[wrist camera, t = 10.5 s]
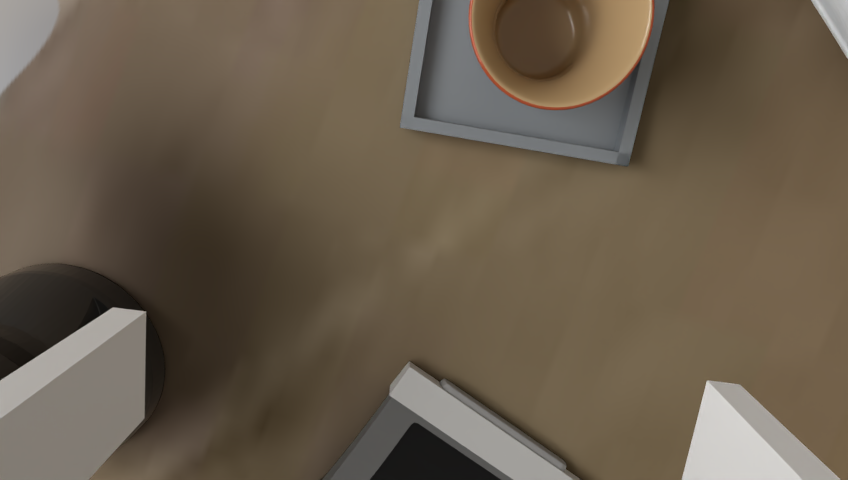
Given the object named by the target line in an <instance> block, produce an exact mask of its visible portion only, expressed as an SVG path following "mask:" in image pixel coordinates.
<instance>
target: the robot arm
mask: <svg viewBox="0 0 848 480" xmlns="http://www.w3.org/2000/svg"><path fill="white" fill-rule="evenodd" d="M164 376H165V366H164V356H163V351H162V347H161V344H160V341H159V338H158V335H157V333H156V331H155V329H154V327H153V325H152V323H151V321H150V320H149V318H148V317H147V315H146V311H143V310H142V308H141V307H140V306H139V305H138V304H137V302H136V301H135V300H134V299H133V298H132V297H131V296H130V295H128V294H127V293H126V292H125V291H124V290H123V289H121V288H120V287H119V286H117V285H116V284H114V283H113V282H111V281H110V280H108V279H106V278H104V277H102V276H101V275H98V274H96V273H94V272H91V271H89V270H86V269H83V268H79V267H75V266H70V265H63V264H40V265H34V266H29V267H25V268H22V269H19V270H17V271H14V272H12V273H9V274H7V275H4V276H2V277H0V480H89V479H90V478H91V477H92V475H93V474H94V473H95V472H96V471H97V470H98V469H99V468H100V467H101V466H102V464H103V463H104V462H105V461H106V460H107V459H108V458H109V457H110V456H111V455H112V453H113V452H114V451H115V450H116V449H117V448H118V447H120V446H121V445H122V444H124V443H125V442H126V441H127V440H128V439H129V438H130V437H131V436H132V435H133V434H134V433H135V432H136V431H137V430H138V429H139V428H140V427H141V426H142V425H143V424H144V423H145V422H146V421H147V419H148V418H149V417H150V416H151V414H152V413H153V411H154V409H155V408H156V406H157V404H158V402H159V399H160V396H161V393H162V390H163V384H164ZM682 480H841V479H839V478H838V477H837V476H836V475H835V474H834V473H833V472H832V471H831V470H830V469H829V468H828V467H827V466H826V465H825V464H824V463H822V462H821V461H820V460H819V459H818V458H817V457H816V456H815V455H814V454H813V453H812V452H811V451H810V450H809V449H808V448H807V447H806V446H804V445H803V444H802V443H801V442H800V441H799V440H798V439H797V438H796V437H795V436H794V435H793V434H792V433H791V432H790V431H789V430H787V429H786V428H785V427H784V426H783V425H782V424H781V423H780V422H779V421H778V420H777V419H776V418H775V417H774V416H773V415H772V414H770V413H769V412H768V411H767V410H766V409H765V408H764V407H763V406H762V405H761V404H760V403H759V402H758V401H757V400H756V399H755V398H754V397H752V396H751V395H750V394H749V393H748V392H747V391H746V390H745V389H744V388H743V387H742V386H741V385H740V384H733V383H725V382H716V381H708V380H707V383H706V387H705V391H704V395H703V399H702V402H701V406H700V410H699V414H698V418H697V422H696V426H695V430H694V434H693V438H692V442H691V446H690V450H689V454H688V457H687V461H686V465H685V469H684V473H683V477H682Z"/></svg>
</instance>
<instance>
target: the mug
mask: <svg viewBox="0 0 848 480" xmlns="http://www.w3.org/2000/svg"><path fill="white" fill-rule="evenodd" d="M654 10H655V4H654V0H470V4H469V16H468V17H469V33H470V38H471V43H472V46H473V50H474V53H475V55H476V57H477V60H478V62H479V64H480V66H481V67H482V69H483V71H484V72H485V74H486V75H487V76H488V78H489V79H490V80H491V81H492V82H493V83H494V84H495V85H496V86H497V87H498V88H499V89H500V90H501V91H502V92H504V93H505V94H506V95H508V96H509V97H511V98H512V99H514V100H516V101H518V102H520V103H522V104H525V105H528V106H530V107H534V108H538V109H544V110H568V109H574V108H578V107H582V106H585V105H588V104H591V103H593V102H595V101H597V100H599V99H601V98H603V97H604V96H606V95H608V94H609V93H610V92H612V91H613V90H615V89H616V88H617V87H618V86H619V85H620V84H622V82H623V81H624V80H625V79H626V78H627V77H628V76H629V75H630V74H631V72H632V71H633V70H634V69H635V67H636V66H637V64H638V63H639V61H640V59H641V57H642V56H643V54H644V52H645V49H646V47H647V45H648V42H649V39H650V36H651V32H652V28H653V22H654Z"/></svg>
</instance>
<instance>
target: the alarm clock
mask: <svg viewBox="0 0 848 480" xmlns="http://www.w3.org/2000/svg"><path fill="white" fill-rule="evenodd" d="M322 480H581V479H580V478H578V477H577V476H575V475H574V474H572V473H571V472H569V471H568V470H566V463H565V462H564V460H562V459H561V458H560V457H558V456H557V455H555V454H554V453H552V452H551V451H549V450H548V449H547V448H545V447H544V446H542V445H541V444H539V443H538V442H536V441H535V440H533V439H532V438H531V437H529V436H528V435H526V434H525V433H523V432H522V431H520V430H519V429H518V428H516V427H515V426H513V425H512V424H510V423H509V422H507V421H506V420H505V419H503V418H502V417H500V416H499V415H497V414H496V413H494V412H493V411H492V410H490V409H489V408H487V407H486V406H484V405H483V404H481V403H480V402H479V401H477V400H476V399H474V398H473V397H471V396H470V395H468V394H467V393H465V392H464V391H463V390H461V389H460V388H458V387H457V386H455V385H454V384H452V383H451V382H450V381H448V380H447V379H443V380H441V381H440V382H439V381H437V380H436V379H435V378H433V377H432V376H430V375H429V374H427V373H426V372H424V371H423V370H421V369H420V368H419V367H417V366H416V365H414V364H413V363H411V362H410V361H409V362H408V363H407V364H406V366H405V367H404V368H403V369H402V371H401V372H400V373H399V375H398V376H397V377H396V378H395V380H394V381H393V382H392V383H391V385H390V392H389V395H388V396H387V397H386V399H385V400H384V401H383V403H382V404H381V406H380V407H379V408H378V410H377V411H376V412H375V414H374V415H373V416H372V418H371V419H370V420H369V421H368V423H367V424H366V425H365V427H364V428H363V429H362V431H361V432H360V433H359V435H358V436H357V437H356V438H355V440H354V441H353V442H352V443H351V445H350V446H349V447H348V448H347V450H346V451H345V452H344V453H343V455H342V456H341V457H340V458H339V460H338V461H337V462H336V463H335V465H334V466H333V467H332V468H331V469H330V471H329V472H328V473H327V474H326V476H325V477H324V478H323V479H322Z"/></svg>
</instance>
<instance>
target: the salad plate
mask: <svg viewBox="0 0 848 480" xmlns="http://www.w3.org/2000/svg"><path fill="white" fill-rule="evenodd" d="M811 1H812V3H813V4H814V6H815V7H816V9H817V10H818V12H819V14H820V15H821V17H822V19H823V20H824V22H825V23H826V25H827V27H828V28H829V30H830V31H831V33H832V35H833V36H834V38H835V40H836V41H837V43H838V44H839V46H840V48H841V49H842V51H843V53H844V54H845V56H846V57H847V59H848V0H811Z"/></svg>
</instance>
